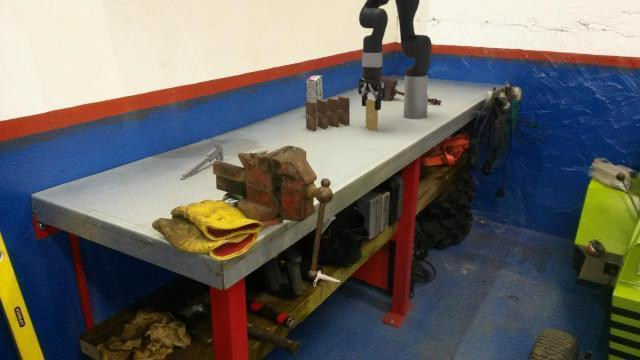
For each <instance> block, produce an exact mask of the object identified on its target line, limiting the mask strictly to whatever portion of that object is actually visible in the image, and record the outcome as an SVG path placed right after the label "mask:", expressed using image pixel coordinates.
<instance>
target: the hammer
mask: <svg viewBox="0 0 640 360" xmlns="http://www.w3.org/2000/svg"><path fill="white" fill-rule="evenodd" d="M380 83H385V99H382V100H381V101H386V102H390V101H392V99H393V100H395V97H396V96H397V95H399V96H403V97H404V91H399V90H398V89H396V88H397V86H398V84H399V83H398V79H397V78H393V77H390V76H386V75H382V77H381V78H380ZM377 92H378V91H377ZM381 95H382V93H381ZM377 97H378V95H377ZM428 103H429V104H432V105H434V106H436V105H438V106H439V105H441V103H442V100H441V99H439V100H438V99H437V98H436V97H435V98H433V97H431V98H428Z"/></svg>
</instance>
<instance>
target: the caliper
mask: <svg viewBox="0 0 640 360" xmlns="http://www.w3.org/2000/svg"><path fill="white" fill-rule="evenodd" d="M214 147H215V148H213V149H212V150H211V151H209V152H208V153H207V154H206V156H204V157H203V158H202V159H201V160H199V161H198V162H197V163H195V164H194V165H193V166H192V167H190V168H189V169H188V170H187V171H185V172H184V173H183V174H182V176H181V177H180V179H179V180H180V181H184V180H185V178H186V179H188V178H190V177H191V176H192V175H194V174H195V173H196V172H197V171H199V170H200V169H202V167H204V166H205V165H207V164H208V163H212V162H213V161H214V160H220V161H224V159H225V158H224V150H223V146H222V145H221V144H220V143H219V142H216V144H214Z"/></svg>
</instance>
